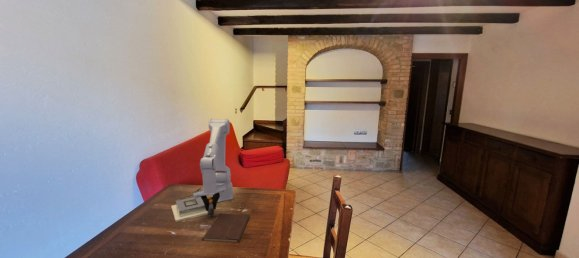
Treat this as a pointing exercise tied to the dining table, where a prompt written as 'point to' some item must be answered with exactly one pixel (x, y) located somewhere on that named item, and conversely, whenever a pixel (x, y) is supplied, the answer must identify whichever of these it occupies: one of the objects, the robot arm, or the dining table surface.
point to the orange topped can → (210, 206)
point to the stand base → (178, 218)
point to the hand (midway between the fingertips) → (210, 209)
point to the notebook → (227, 228)
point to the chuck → (190, 206)
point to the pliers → (191, 194)
